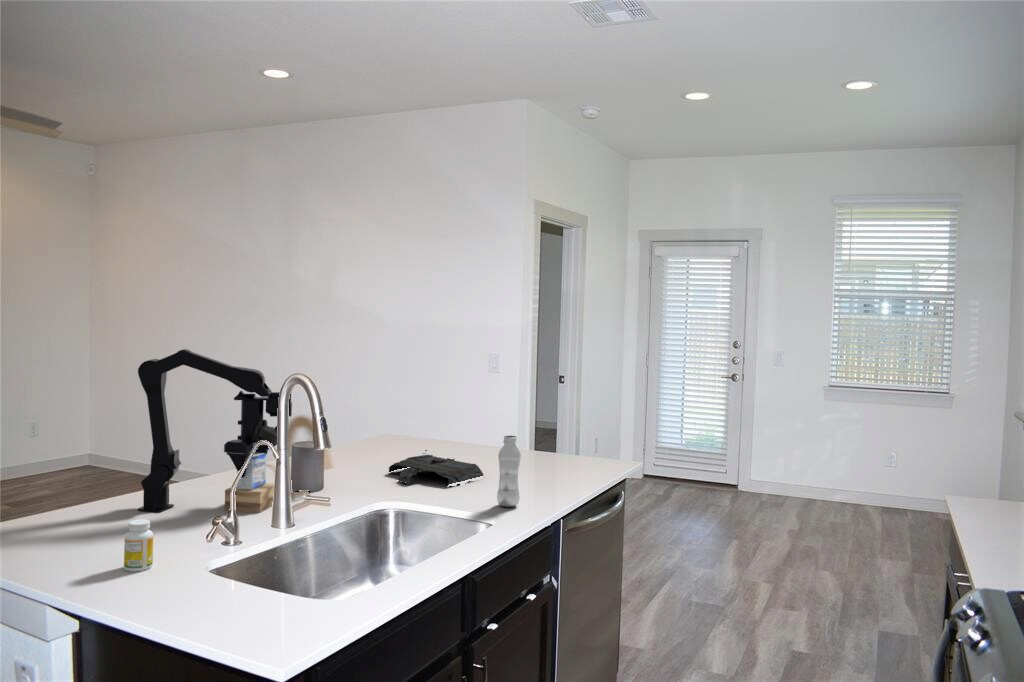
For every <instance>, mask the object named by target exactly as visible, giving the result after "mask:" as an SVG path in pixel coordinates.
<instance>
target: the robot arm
mask: <svg viewBox="0 0 1024 682" xmlns="http://www.w3.org/2000/svg"><path fill="white" fill-rule="evenodd" d="M181 366H186V367H190V368H192V369H194V370H198V371H201V372H203V373H206V374H209V375H212V376H215V377H218V378H221V379H224V380H226V381H228V382H230V383H232V385H235V386H236V387H238V388H240V389H241V390H240V391H239V392H238V394H237V395H235V396H234V397H233V400H234V401H241V407H240V408H241V410H240V415H241V416H240V419H239V420H237V425H239V426H240V434H239V435H237V438H236V439H232V440H228V441H227V442H225V444H223V452H224V453H226V455H227V456H228V457H229V458H230V460H231V462H232V463H233V465H234V467H235V469H236V471H239V470H240V469H241V467H242V466H243V464H244V462H245V461H246V459H247V458H248V456H249V454H250V452H252V448H253V446H254V445H255V444H256V443H257V442H258V441H260V440H267V441H269V442H270V443H272V444H273V447H276V446H277V426H278V425H276V426H275V427H274V426H269V425H268V420H267V419H264V405H265V414H268V415H269V417H270V418H271V417H277V408H278V397H279V393H280V392H281V391H279V392H278V391H272V389H271V388H270V387H269V386H268V385H267V383H266V382H265V381H266V378H265V376H264V373H263V372H262V371H261V370H258V369H255V368H248V367H242V366H233V365H231V364H227V363H225V362H222V361H219V360H216V359H213V358H210V357H208V356H205V355H202V354H199V353H197V352H193V351H192V350H190V349H187V348H184V349H180V350H178V351H177V352H175V353H173V354H170V355H168V356H166V357H163V358H161V359H159V358H152V359H148V360H145V361H143V362H141V364H140V365H139V366H138V368H137V374H138V378H139V381H140V383H141V386H142V389H143V391H144V392H145V394H146V399H147V408H148V416H149V423H150V432H151V440H152V441H151V442H152V447H153V448H152V456H151V459H150V473H149V474H147V475H146V477H145V478H144V479H142V480H141V481H140V484H141V487H142V489H143V499H142V500H143V503H142V504H143V506H141V507H139V508H137V511H140V512H141V511H142V512H155V513H162V512H164V511H166V510H169V509H171V508H173V507H174V506H175V504H173V503H170V484H169V482H170V480H171V479H172V478H173V477H174V476H175V475H176V474H177V473H178V471H179V468H180V465H182V462H181V461H180V449H176V450H175V449H173V447H172V443H171V438H170V430H169V428H170V427H169V423H168V413H167V405H166V397H165V390H166V383H167V376H168V375H167V374H168V372H169V371H172V370H175V369H177V368H180V367H181ZM244 391H245V392H247V393H245V392H244ZM257 395H258V396H257ZM264 401H265V403H264ZM292 414H293V402H292V393H291V394H290V399H289V418H290V417H292ZM268 451H270V449H269V448H268V446H267V445H265V444H262V445H260V446H259V447H258V449H257V450H256V452H255V453H265V454H266V455H267V454H268ZM245 473H246V469H245V471H244V473H243V475H242V477H245Z"/></svg>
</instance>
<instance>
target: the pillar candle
mask: <svg viewBox="0 0 1024 682" xmlns="http://www.w3.org/2000/svg"><path fill="white" fill-rule="evenodd" d="M313 441H314V440H310V439H308V440H304V441H303V440H300V441H294V442H291V451H290V452H291V453H290V455H291V456H290V461H291V462H290V481H291V480H292V489H293V491H292V492H296V491H299V490H309V491H310V492H309V493H315V492H316V493H317V492H319V491H322V490H323V489H324V487H325V485H324V484H325V449H324V450H316V451H315V450H314V444H313Z"/></svg>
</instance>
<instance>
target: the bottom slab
mask: <svg viewBox="0 0 1024 682" xmlns="http://www.w3.org/2000/svg"><path fill="white" fill-rule="evenodd" d="M272 502H273V497H272V498H270V499H268V500H266V501H264V502H262V503H246V502H236V511H235V512H241V513H244V512H245V513H255V514H256V513H257V514H261V513H262V512H264V511H266V510H268V509H270V508H272V507H273V506H272ZM229 509H230V501H225V500H224V511H228V510H229Z"/></svg>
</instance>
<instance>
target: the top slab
mask: <svg viewBox="0 0 1024 682" xmlns="http://www.w3.org/2000/svg"><path fill="white" fill-rule="evenodd" d="M274 484H275V483H267V482H266V483H265V484H264V485H262V486H260V487H258V488H256V489H254V490H242V489H237V487H236V491H235V495H236V502H246V503H262V502H264V501H266V500H268V499H270V498H272V497H273V493H274ZM231 487H232V486H230V487H228V488H226V489H225V490H224V502H225V501H230V492H231Z"/></svg>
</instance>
